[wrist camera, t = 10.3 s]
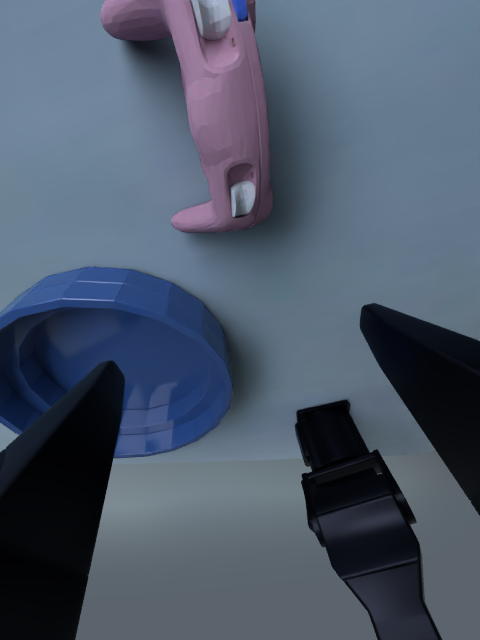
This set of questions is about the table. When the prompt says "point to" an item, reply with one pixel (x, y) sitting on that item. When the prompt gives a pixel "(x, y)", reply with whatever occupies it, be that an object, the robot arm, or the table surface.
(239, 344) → the table surface
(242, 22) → the video game controller
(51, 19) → the table surface
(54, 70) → the table surface
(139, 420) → the bowl
